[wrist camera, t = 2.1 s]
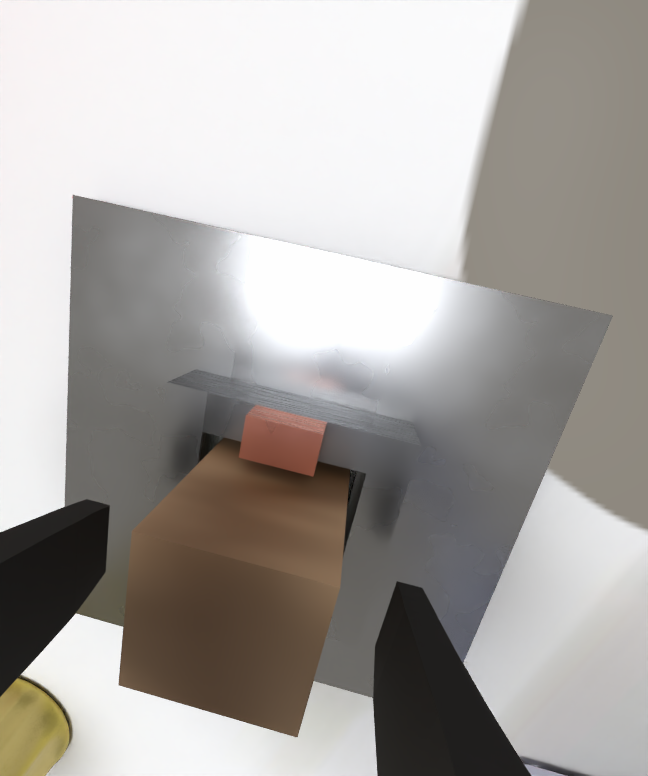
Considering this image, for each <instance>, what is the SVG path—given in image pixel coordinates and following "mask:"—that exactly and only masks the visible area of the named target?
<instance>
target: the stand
mask: <svg viewBox="0 0 648 776" xmlns="http://www.w3.org/2000/svg"><path fill="white" fill-rule="evenodd" d="M612 317H613V316H612V315H608V314H603V313H598V312H594V311H590V310H585V309H581V308H576V307H572V306H567V305H563V304H558V303H554V302H549V301H545V300H540V299H536V298H532V297H527V296H523V295H518V294H513V293H509V292H505V291H500V290H496V289H491V288H487V287H482V286H478V285H473V284H469V283H464V282H460V281H456V280H451V279H447V278H442V277H438V276H433V275H429V274H424V273H420V272H415V271H411V270H406V269H402V268H397V267H393V266H388V265H384V264H379V263H375V262H371V261H366V260H362V259H357V258H353V257H348V256H344V255H339V254H335V253H330V252H326V251H321V250H317V249H312V248H308V247H303V246H299V245H294V244H290V243H286V242H281V241H277V240H272V239H268V238H263V237H259V236H254V235H250V234H245V233H241V232H236V231H232V230H227V229H223V228H218V227H214V226H210V225H205V224H201V223H196V222H192V221H187V220H183V219H178V218H174V217H169V216H165V215H160V214H156V213H151V212H147V211H142V210H138V209H133V208H129V207H125V206H120V205H116V204H111V203H107V202H102V201H98V200H93V199H89V198H84V197H80V196H75V195H73V213H72V251H71V290H70V328H69V366H68V405H67V443H66V481H65V507H66V506H69V505H71V504H74V503H77V502H80V501H83V500H85V499H88V500H92V501H96V502H100V503H103V504H107V505H110V511H109V527H108V543H107V559H106V572H105V574H104V575H103V577H102V578H101V579H100V581H99V582H98V584H97V585H96V586H95V588H94V589H93V591H92V592H91V593H90V595H89V596H88V598H87V599H86V600H85V602H84V603H83V604H82V606H81V607H80V608H79V610H78V611H77V612H76V613H77V614H80V615H84V616H87V617H91V618H94V619H98V620H101V621H105V622H108V623H112V624H116V625H119V626H123V627H124V616H125V605H126V593H127V581H128V570H129V558H130V547H131V535H132V530H133V529H134V528H135V527H136V526H137V525H138V524H139V523H140V522H141V521H142V520H143V519H144V518H145V517H146V516H147V515H148V514H149V513H150V512H151V511H152V510H153V509H154V508H155V507H156V506H157V505H158V504H159V503H160V502H161V501H162V500H163V499H164V498H165V497H166V496H167V495H168V494H169V493H170V492H171V491H172V490H173V489H174V488H175V487H176V486H177V485H178V484H179V483H180V482H181V481H182V480H183V479H184V478H185V477H186V476H187V475H188V474H189V472H190V471H191V470H192V469H193V468H194V467H195V466H196V465H197V464H198V463H199V462H200V461H201V460H202V459H203V458H204V457H205V456H206V455H207V454H208V453H209V452H210V451H211V450H212V449H213V448H214V447H215V446H216V445H217V444H218V443H219V442H220V441H221V440H222V439H223V438H228V439H232V440H236V441H240V442H241V447H240V453H239V458H242V459H246V460H250V461H254V462H258V463H262V464H266V465H269V466H273V467H277V468H281V469H285V470H289V471H293V472H297V473H301V474H305V475H309V476H312V477H313V476H314V473H315V469H316V466H317V462H318V461H319V462H323V463H327V464H331V465H335V466H339V467H343V468H347V469H351V470H355V471H357V474H356V477H355V481H354V485H353V488H352V492H351V496H350V499H349V503H348V507H347V514H346V526H345V537H344V549H343V561H342V573H341V584H340V590H339V593H338V597H337V600H336V604H335V607H334V611H333V614H332V618H331V621H330V625H329V628H328V632H327V635H326V639H325V642H324V646H323V649H322V653H321V656H320V660H319V663H318V667H317V670H316V674H315V677H314V681H316V682H320V683H323V684H327V685H330V686H334V687H337V688H341V689H344V690H348V691H351V692H355V693H358V694H362V695H365V696H369V697H372V698H373V686H374V658H375V644H376V641H377V639H378V636H379V633H380V630H381V627H382V624H383V621H384V618H385V615H386V612H387V609H388V606H389V603H390V600H391V597H392V594H393V591H394V588H395V585H396V582H397V581H398V582H402V583H406V584H410V585H413V586H417V587H421V588H423V590H424V592H425V593H426V595H427V597H428V599H429V601H430V603H431V605H432V607H433V609H434V610H435V612H436V614H437V616H438V618H439V620H440V622H441V624H442V626H443V628H444V629H445V631H446V633H447V635H448V637H449V639H450V641H451V642H452V644H453V646H454V648H455V650H456V652H457V653H458V655H459V657H460V659H461V661H462V663H463V662H464V659H465V657H466V655H467V652H468V650H469V648H470V646H471V643H472V641H473V639H474V636H475V634H476V632H477V629H478V627H479V625H480V622H481V620H482V618H483V615H484V613H485V611H486V608H487V606H488V604H489V602H490V599H491V597H492V595H493V592H494V590H495V588H496V585H497V583H498V581H499V578H500V576H501V574H502V571H503V569H504V567H505V564H506V562H507V560H508V558H509V555H510V553H511V551H512V548H513V546H514V544H515V541H516V539H517V537H518V534H519V532H520V530H521V527H522V525H523V523H524V520H525V518H526V516H527V513H528V511H529V509H530V507H531V504H532V502H533V500H534V497H535V495H536V493H537V490H538V488H539V486H540V483H541V481H542V479H543V476H544V474H545V472H546V469H547V467H548V465H549V463H550V460H551V458H552V456H553V453H554V451H555V449H556V446H557V444H558V442H559V439H560V437H561V435H562V432H563V430H564V428H565V425H566V423H567V421H568V419H569V416H570V414H571V411H572V409H573V407H574V405H575V402H576V400H577V398H578V395H579V393H580V391H581V388H582V386H583V384H584V381H585V379H586V377H587V374H588V372H589V370H590V368H591V365H592V363H593V361H594V358H595V356H596V353H597V351H598V349H599V347H600V344H601V342H602V340H603V337H604V335H605V333H606V330H607V328H608V326H609V323H610V321H611V319H612Z"/></svg>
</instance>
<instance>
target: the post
mask: <svg viewBox="0 0 648 776" xmlns="http://www.w3.org/2000/svg"><path fill="white" fill-rule="evenodd" d="M240 447H241V442H240V441H236V440H232V439H228V438H223V439H222V440H221V441H220V442H219V443H218V444H217V445H216V446H215V447H214V448H213V449H212V450H211V451H210V452H209V453H208V454H207V455H206V456H205V457H204V458H203V459H202V460H201V461H200V462H199V463H198V464H197V465H196V466H195V467H194V468H193V469H192V470H191V471H190V472H189V474H188V475H187V476H186V477H185V478H184V479H183V480H182V481H181V482H180V483H179V484H178V485H177V486H176V487H175V488H174V489H173V490H172V491H171V492H170V493H169V494H168V495H167V496H166V497H165V498H164V499H163V500H162V501H161V502H160V503H159V504H158V505H157V506H156V507H155V508H154V509H153V510H152V511H151V512H150V513H149V514H148V515H147V516H146V517H145V518H144V519H143V520H142V521H141V522H140V523H139V524H138V525H137V526H136V527H135V528H134V529H133V530H132V535H131V547H130V558H129V570H128V581H127V593H126V605H125V616H124V628H123V639H122V651H121V663H120V674H119V685H120V686H123V687H127V688H130V689H134V690H137V691H140V692H144V693H147V694H151V695H154V696H158V697H161V698H164V699H168V700H171V701H175V702H178V703H181V704H185V705H188V706H192V707H195V708H199V709H202V710H205V711H209V712H212V713H216V714H219V715H222V716H226V717H229V718H233V719H236V720H239V721H243V722H246V723H250V724H253V725H257V726H260V727H263V728H267V729H270V730H274V731H277V732H280V733H284V734H287V735H291V736H294V737H298V733H299V730H300V726H301V723H302V719H303V716H304V712H305V709H306V705H307V702H308V698H309V695H310V691H311V688H312V684H313V681H314V677H315V674H316V670H317V667H318V663H319V660H320V656H321V653H322V649H323V646H324V642H325V639H326V635H327V632H328V628H329V625H330V621H331V618H332V614H333V611H334V607H335V604H336V600H337V597H338V593H339V590H340V584H341V573H342V561H343V549H344V537H345V526H346V514H347V502H348V490H349V478H350V469H347V468H343V467H339V466H335V465H331V464H327V463H323V462H319V461H318V462H317V466H316V469H315V473H314V476H313V477H312V476H309V475H305V474H301V473H297V472H293V471H289V470H285V469H281V468H277V467H273V466H269V465H266V464H262V463H258V462H254V461H250V460H246V459H242V458H239V453H240Z"/></svg>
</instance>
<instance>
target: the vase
mask: <svg viewBox="0 0 648 776" xmlns="http://www.w3.org/2000/svg"><path fill="white" fill-rule="evenodd" d="M69 738H70V732H69V726H68V723H67V720H66V717H65V715H64V713H63V712H62V710H61V709H60V707H59V706H58V705H57V703H56V702H55V701H54V700H53V699H52V698H51V697H50V696H49V695H47V694H46V693H45V692H44V691H42V690H41V689H40V688H38V687H36V686H35V685H33V684H31V683H29V682H27V681H25V680H22V679H20V678H17V679H16V680H15V681H14V683H13V684H12V685H11V686H10V687H9V688H8V689H7V690H6V691H5V692H4V694H3V695H2V696H1V697H0V776H45V775H46V774H47V773H48V772H49V770H50V769H51V768H52V766H53V765H54V764H55V763H57V762H58V760H59V759H60V758H61V757H62V756H63V754H64V753H65V751H66V749H67V747H68V744H69Z"/></svg>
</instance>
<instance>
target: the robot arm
mask: <svg viewBox="0 0 648 776" xmlns="http://www.w3.org/2000/svg"><path fill="white" fill-rule="evenodd" d="M109 511H110V505H107V504H103V503H100V502H96V501H92V500H88V499H85V500H83V501H80V502H77V503H74V504H71V505H69V506H66V507H63V508H61V509H58V510H56V511H53V512H51V513H48V514H46V515H43V516H41V517H38V518H36V519H33V520H31V521H28V522H26V523H23V524H21V525H18V526H16V527H13V528H10V529H8V530H5V531H3V532H0V697H1V696H2V695H3V694H4V692H5V691H6V690H7V689H8V688H9V687H10V686H11V685H12V684H13V683H14V681H15V680H16V679H17V678H18V677H19V676H20V675H21V674H22V673H23V672H24V670H25V669H26V668H27V667H28V666H29V665H30V664H31V663H32V662H33V661H34V659H35V658H36V657H37V656H38V655H39V654H40V653H41V652H42V651H43V650H44V648H45V647H46V646H47V645H48V644H49V643H50V642H51V641H52V639H53V638H54V637H55V636H56V635H57V634H58V633H59V632H60V631H61V629H62V628H63V627H64V626H65V625H66V624H67V623H68V622H69V620H70V619H71V618H72V617H73V616H74V615H75V613H76V612H77V611H78V610H79V608H80V607H81V606H82V604H83V603H84V602H85V600H86V599H87V598H88V596H89V595H90V593H91V592H92V591H93V589H94V588H95V586H96V585H97V584H98V582H99V581H100V579H101V578H102V577H103V575H104V574H105V572H106V559H107V543H108V527H109ZM373 704H374V722H375V739H376V756H377V772H378V776H566V775H563V774H559V773H556V772H552V771H549V770H545V769H542V768H538V767H535V766H531V765H528V764H523V762H522V761H521V759H520V757H519V756H518V754H517V753H516V751H515V750H514V748H513V746H512V745H511V743H510V742H509V740H508V738H507V737H506V735H505V734H504V732H503V730H502V729H501V727H500V726H499V724H498V722H497V721H496V719H495V717H494V716H493V714H492V712H491V711H490V709H489V707H488V706H487V704H486V702H485V701H484V699H483V697H482V696H481V694H480V692H479V690H478V689H477V687H476V685H475V683H474V682H473V680H472V678H471V676H470V675H469V673H468V671H467V670H466V668H465V666H464V664H463V663H462V661H461V659H460V657H459V655H458V653H457V652H456V650H455V648H454V646H453V644H452V642H451V641H450V639H449V637H448V635H447V633H446V631H445V629H444V628H443V626H442V624H441V622H440V620H439V618H438V616H437V614H436V612H435V610H434V609H433V607H432V605H431V603H430V601H429V599H428V597H427V595H426V593H425V592H424V590H423V588H421V587H417V586H413V585H410V584H406V583H402V582H398V581H397V582H396V585H395V588H394V591H393V594H392V597H391V600H390V603H389V606H388V609H387V612H386V615H385V618H384V621H383V624H382V627H381V630H380V633H379V636H378V639H377V641H376V644H375V658H374V686H373Z"/></svg>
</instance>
